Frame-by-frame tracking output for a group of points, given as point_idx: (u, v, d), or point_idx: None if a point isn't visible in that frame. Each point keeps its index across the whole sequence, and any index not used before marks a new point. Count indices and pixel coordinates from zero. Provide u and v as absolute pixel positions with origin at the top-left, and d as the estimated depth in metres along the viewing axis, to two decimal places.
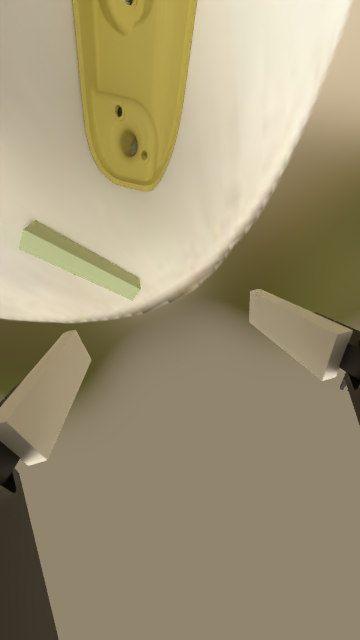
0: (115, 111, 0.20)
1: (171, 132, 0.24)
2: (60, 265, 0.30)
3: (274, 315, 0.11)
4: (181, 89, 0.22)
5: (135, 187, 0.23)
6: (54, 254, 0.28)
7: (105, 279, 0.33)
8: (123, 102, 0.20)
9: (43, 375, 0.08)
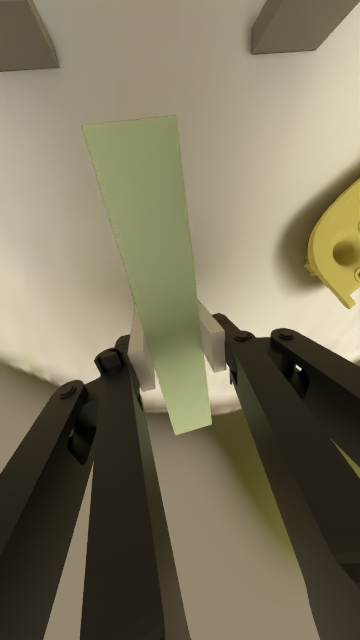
0: None
1: None
2: (138, 278, 0.09)
3: None
4: None
5: (341, 293, 0.16)
6: (159, 245, 0.08)
7: (184, 373, 0.12)
8: None
9: None
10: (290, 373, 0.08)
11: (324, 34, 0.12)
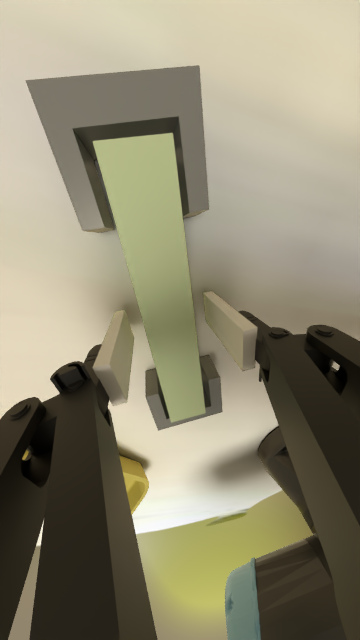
0: None
1: None
2: (138, 273, 0.10)
3: (216, 315, 0.12)
4: None
5: None
6: (158, 243, 0.09)
7: (179, 363, 0.13)
8: None
9: (117, 339, 0.10)
10: (325, 371, 0.08)
11: None
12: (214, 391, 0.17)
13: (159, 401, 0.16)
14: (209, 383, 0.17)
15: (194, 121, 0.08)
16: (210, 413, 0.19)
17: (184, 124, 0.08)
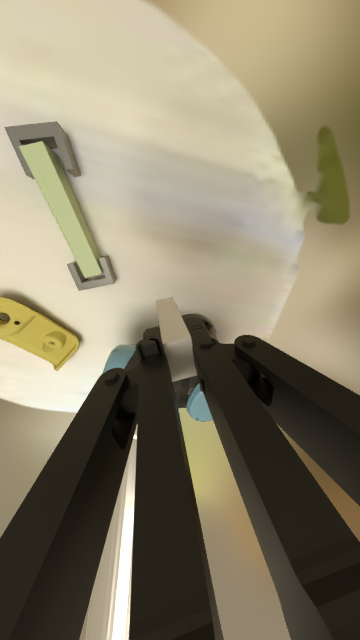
0: None
1: None
2: (45, 192, 0.27)
3: None
4: (22, 347, 0.42)
5: None
6: (49, 179, 0.27)
7: (76, 238, 0.31)
8: (19, 327, 0.36)
9: (171, 322, 0.11)
10: (256, 379, 0.08)
11: None
12: (104, 267, 0.35)
13: (74, 268, 0.34)
14: None
15: (59, 137, 0.26)
16: (106, 283, 0.36)
17: (56, 138, 0.26)
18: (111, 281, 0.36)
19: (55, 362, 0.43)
